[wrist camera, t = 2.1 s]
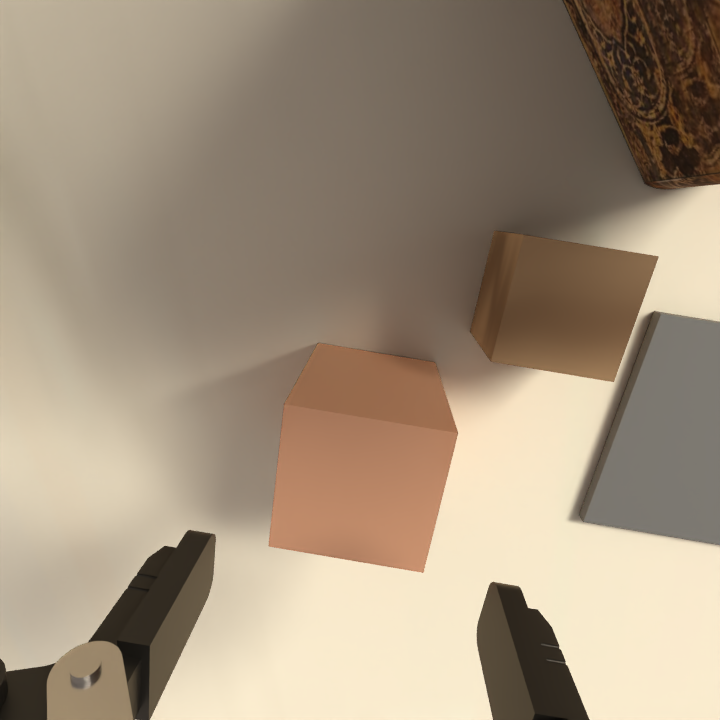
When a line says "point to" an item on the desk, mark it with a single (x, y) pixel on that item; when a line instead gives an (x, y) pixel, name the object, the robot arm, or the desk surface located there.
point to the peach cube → (363, 458)
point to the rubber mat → (665, 437)
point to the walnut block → (559, 304)
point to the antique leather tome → (659, 82)
